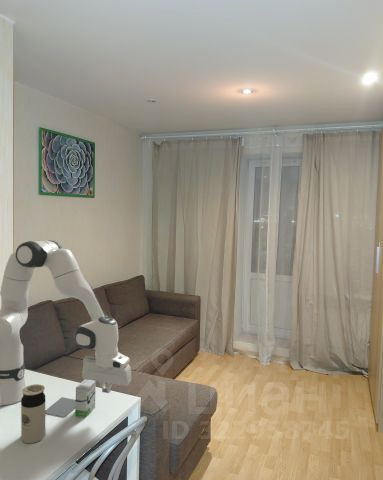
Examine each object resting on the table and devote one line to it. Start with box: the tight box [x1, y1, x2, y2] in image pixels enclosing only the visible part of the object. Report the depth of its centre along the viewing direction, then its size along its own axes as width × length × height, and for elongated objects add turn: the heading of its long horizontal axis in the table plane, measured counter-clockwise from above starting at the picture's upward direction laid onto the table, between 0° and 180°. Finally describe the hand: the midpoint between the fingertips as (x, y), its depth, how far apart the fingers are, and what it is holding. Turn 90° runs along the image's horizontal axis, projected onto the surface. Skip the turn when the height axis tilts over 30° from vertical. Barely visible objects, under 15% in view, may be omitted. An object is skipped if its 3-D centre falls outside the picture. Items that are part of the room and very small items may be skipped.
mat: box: [45, 396, 76, 418], centre depth 156 cm, size 10×13×1 cm
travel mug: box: [20, 384, 46, 444], centre depth 135 cm, size 8×8×18 cm
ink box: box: [74, 379, 97, 419], centre depth 153 cm, size 9×5×12 cm, turn 168°
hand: (106, 392), depth 150 cm, fingers closed
